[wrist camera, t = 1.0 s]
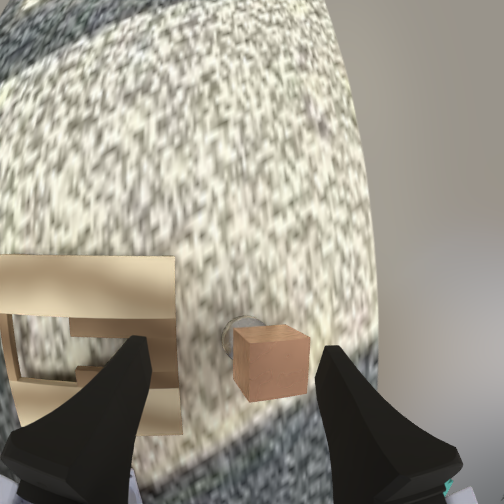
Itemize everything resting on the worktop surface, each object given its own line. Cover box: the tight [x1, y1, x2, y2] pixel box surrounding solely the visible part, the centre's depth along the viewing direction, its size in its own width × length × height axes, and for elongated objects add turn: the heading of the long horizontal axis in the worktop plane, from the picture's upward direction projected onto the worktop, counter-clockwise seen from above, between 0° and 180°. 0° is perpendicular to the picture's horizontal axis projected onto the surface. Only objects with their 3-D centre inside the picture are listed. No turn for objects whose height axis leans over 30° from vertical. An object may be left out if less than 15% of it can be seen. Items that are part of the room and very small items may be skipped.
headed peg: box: [221, 316, 310, 402], centre depth 23 cm, size 4×4×8 cm
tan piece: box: [0, 254, 183, 436], centre depth 21 cm, size 14×14×3 cm
